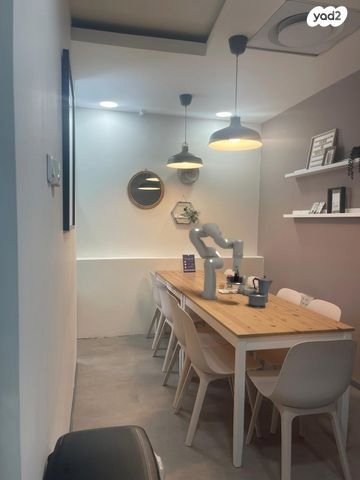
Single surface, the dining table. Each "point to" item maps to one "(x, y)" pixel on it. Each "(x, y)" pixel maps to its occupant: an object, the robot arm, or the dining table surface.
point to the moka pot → (263, 285)
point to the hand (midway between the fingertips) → (236, 281)
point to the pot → (257, 300)
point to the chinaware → (246, 287)
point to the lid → (240, 282)
